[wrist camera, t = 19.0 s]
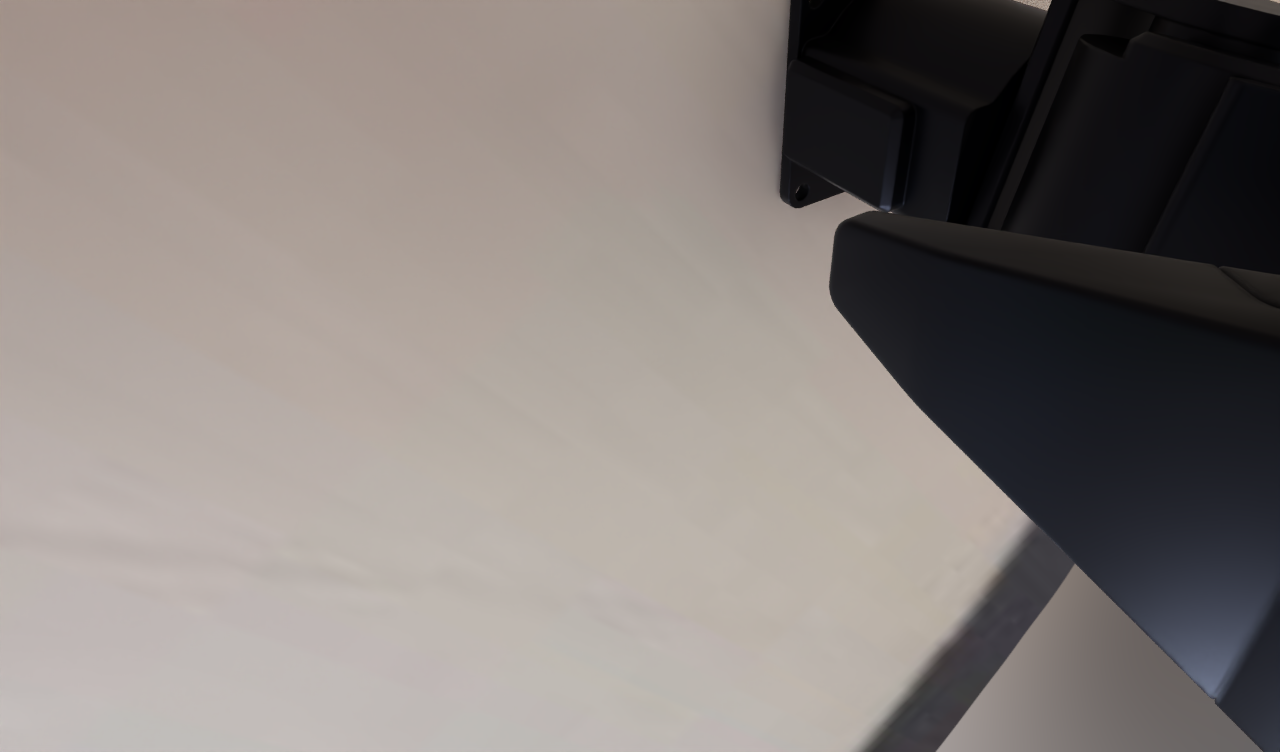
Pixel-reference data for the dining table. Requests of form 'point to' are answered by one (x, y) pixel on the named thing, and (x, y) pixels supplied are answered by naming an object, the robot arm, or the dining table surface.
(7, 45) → the dining table surface
